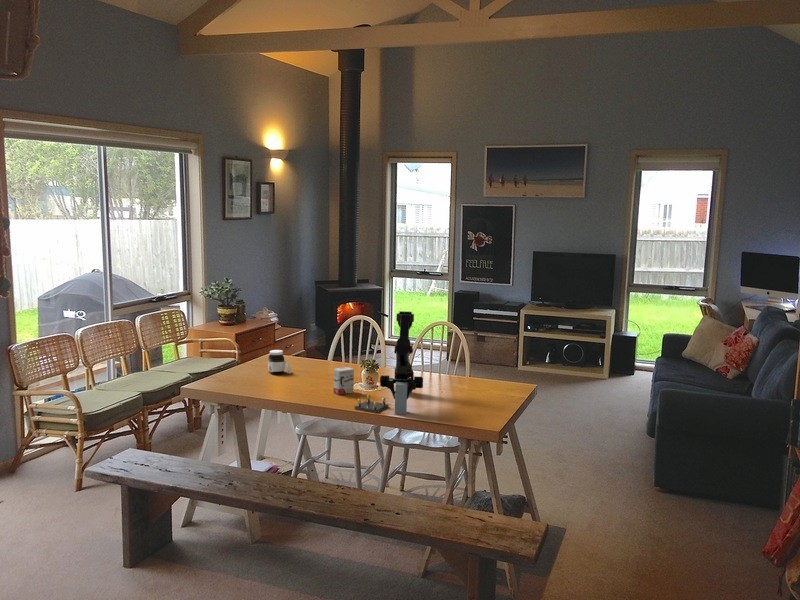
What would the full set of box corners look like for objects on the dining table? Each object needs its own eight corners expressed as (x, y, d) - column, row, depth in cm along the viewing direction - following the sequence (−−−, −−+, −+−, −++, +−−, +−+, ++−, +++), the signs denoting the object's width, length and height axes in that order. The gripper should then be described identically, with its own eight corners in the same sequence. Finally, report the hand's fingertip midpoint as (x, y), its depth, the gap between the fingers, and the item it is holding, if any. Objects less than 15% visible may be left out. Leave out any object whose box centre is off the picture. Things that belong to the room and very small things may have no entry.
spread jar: (266, 371, 369) (266, 349, 368) (286, 369, 375) (286, 348, 373) (273, 376, 359) (273, 354, 357) (294, 374, 364) (294, 352, 362)
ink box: (338, 395, 327) (338, 370, 325) (333, 392, 331) (333, 368, 329) (354, 392, 332) (354, 368, 330) (348, 390, 336) (349, 366, 334)
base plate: (367, 403, 315) (367, 394, 315) (388, 406, 310) (388, 397, 309) (354, 409, 305) (354, 399, 305) (376, 413, 300) (376, 403, 300)
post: (395, 410, 304) (396, 381, 303) (406, 411, 304) (407, 382, 302) (394, 414, 299) (395, 384, 298) (406, 414, 299) (407, 385, 297)
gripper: (380, 357, 303) (378, 388, 293) (423, 358, 302) (422, 390, 293) (381, 370, 312) (379, 401, 302) (423, 372, 311) (422, 403, 302)
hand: (400, 398), depth 299 cm, fingers closed on post, 5 cm apart
